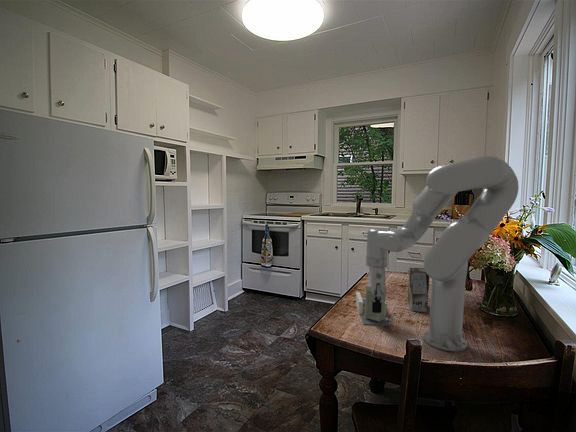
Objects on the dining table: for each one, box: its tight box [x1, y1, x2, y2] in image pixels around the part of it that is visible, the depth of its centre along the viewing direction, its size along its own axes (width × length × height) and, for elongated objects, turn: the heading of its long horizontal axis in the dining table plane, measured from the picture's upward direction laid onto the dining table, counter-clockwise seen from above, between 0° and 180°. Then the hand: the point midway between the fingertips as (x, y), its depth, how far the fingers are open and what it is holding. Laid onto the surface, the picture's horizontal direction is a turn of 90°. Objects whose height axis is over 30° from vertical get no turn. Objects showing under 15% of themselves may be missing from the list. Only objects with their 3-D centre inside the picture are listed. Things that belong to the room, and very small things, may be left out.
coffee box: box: [407, 267, 430, 313], centre depth 129 cm, size 9×6×16 cm
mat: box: [360, 313, 390, 327], centre depth 116 cm, size 9×9×1 cm
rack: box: [355, 291, 388, 317], centre depth 127 cm, size 12×10×5 cm
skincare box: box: [363, 284, 387, 322], centre depth 115 cm, size 6×4×12 cm
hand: (375, 308), depth 115 cm, fingers closed on skincare box, 6 cm apart
